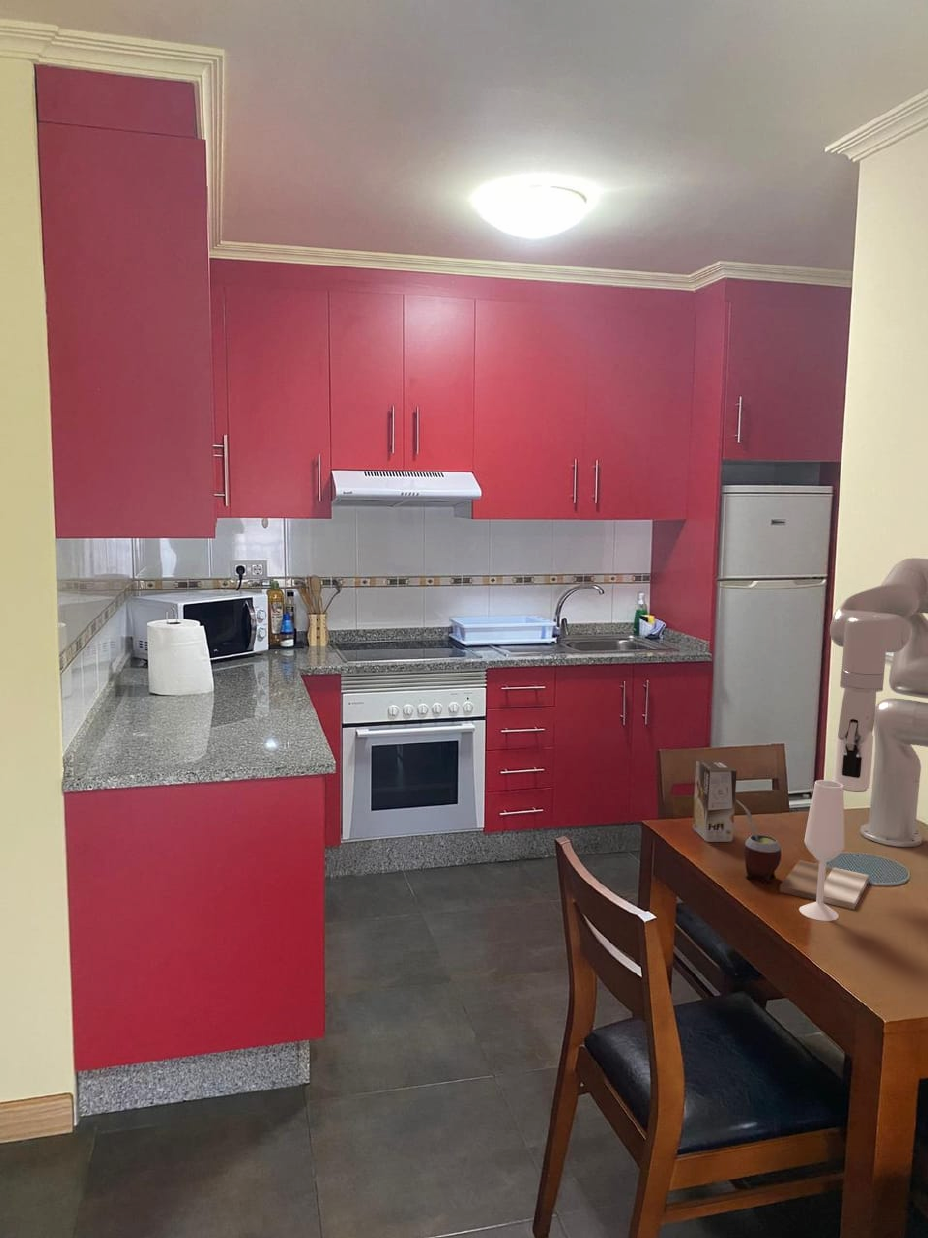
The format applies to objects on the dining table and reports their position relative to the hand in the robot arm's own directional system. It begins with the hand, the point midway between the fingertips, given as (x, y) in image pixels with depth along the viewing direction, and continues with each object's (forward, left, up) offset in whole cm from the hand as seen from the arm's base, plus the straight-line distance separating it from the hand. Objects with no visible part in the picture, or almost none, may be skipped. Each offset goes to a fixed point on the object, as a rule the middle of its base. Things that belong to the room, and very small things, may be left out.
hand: (854, 771), depth 175 cm
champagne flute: (+17, -1, -23) cm, 29 cm away
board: (+4, -3, -22) cm, 23 cm away
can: (0, 0, -3) cm, 3 cm away
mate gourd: (+8, -15, -23) cm, 28 cm away
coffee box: (-10, -30, -23) cm, 39 cm away
